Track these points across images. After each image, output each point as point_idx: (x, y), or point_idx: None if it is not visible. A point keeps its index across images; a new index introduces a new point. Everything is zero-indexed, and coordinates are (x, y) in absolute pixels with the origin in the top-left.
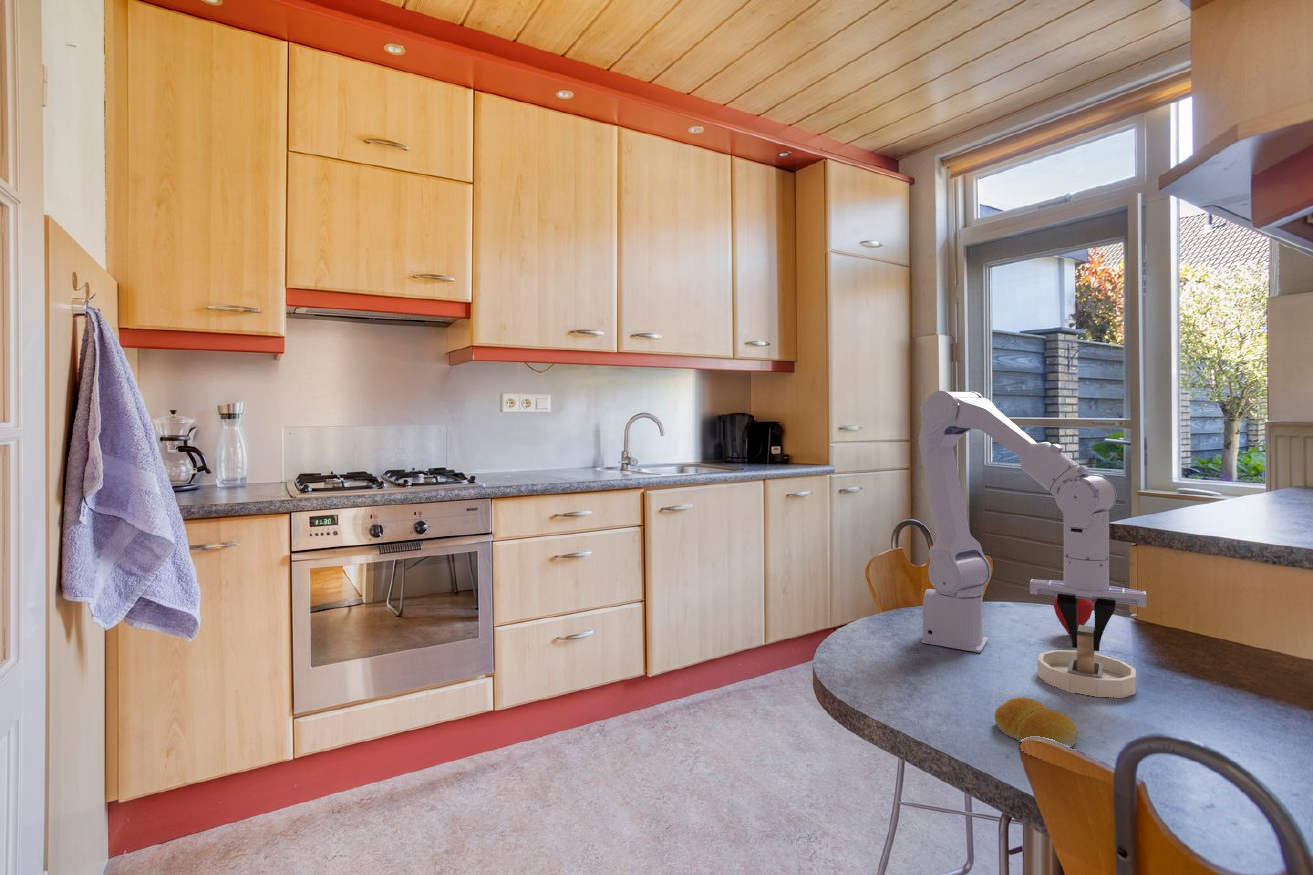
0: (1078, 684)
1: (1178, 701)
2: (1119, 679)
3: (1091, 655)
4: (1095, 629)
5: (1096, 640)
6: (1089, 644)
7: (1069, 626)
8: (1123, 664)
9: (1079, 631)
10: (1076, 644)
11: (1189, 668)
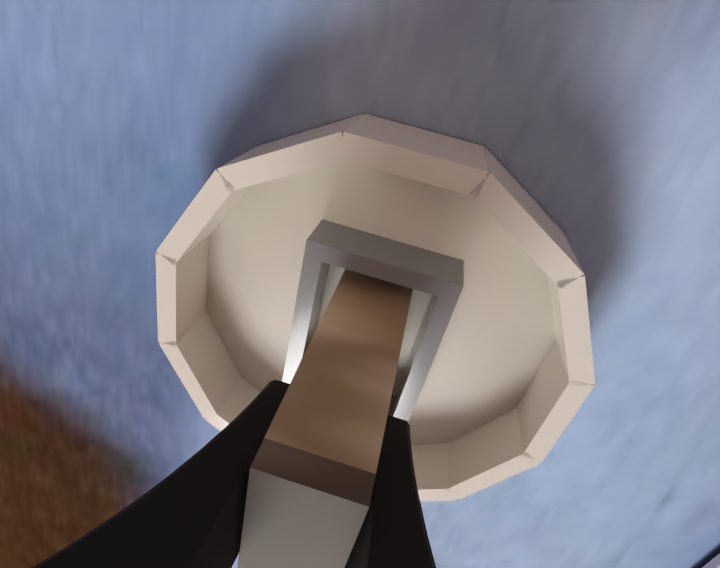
0: (443, 147)
1: (66, 182)
2: (225, 179)
3: (320, 342)
4: (220, 501)
5: (254, 425)
6: (310, 398)
7: (422, 562)
8: (201, 386)
9: (352, 497)
10: (386, 429)
11: (69, 461)
